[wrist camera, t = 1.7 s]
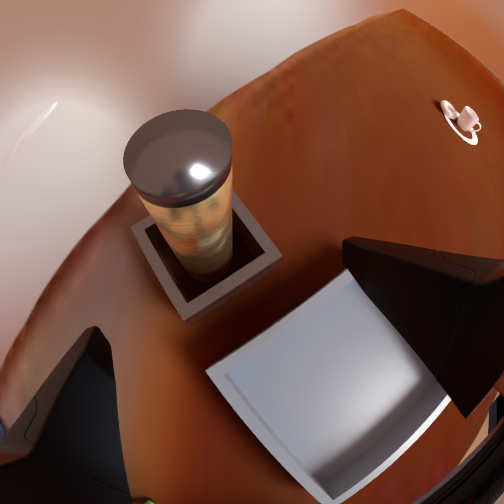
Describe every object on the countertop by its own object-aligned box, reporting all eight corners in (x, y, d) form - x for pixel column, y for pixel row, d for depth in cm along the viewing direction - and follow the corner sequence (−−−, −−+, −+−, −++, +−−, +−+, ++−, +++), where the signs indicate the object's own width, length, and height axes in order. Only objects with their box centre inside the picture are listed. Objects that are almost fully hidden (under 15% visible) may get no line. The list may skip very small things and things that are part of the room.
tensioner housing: (275, 269, 21) (282, 255, 18) (191, 324, 19) (183, 321, 16) (221, 197, 23) (220, 174, 20) (144, 244, 21) (130, 227, 18)
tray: (438, 381, 19) (462, 383, 15) (316, 491, 15) (329, 510, 12) (358, 257, 22) (377, 243, 19) (210, 365, 19) (205, 370, 15)
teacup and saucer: (431, 105, 32) (442, 89, 28) (454, 108, 33) (465, 94, 29) (462, 146, 29) (476, 131, 26) (482, 146, 31) (494, 133, 27)
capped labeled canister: (242, 263, 21) (254, 156, 9) (199, 291, 20) (148, 215, 8) (214, 224, 22) (199, 97, 10) (172, 249, 21) (110, 141, 9)
